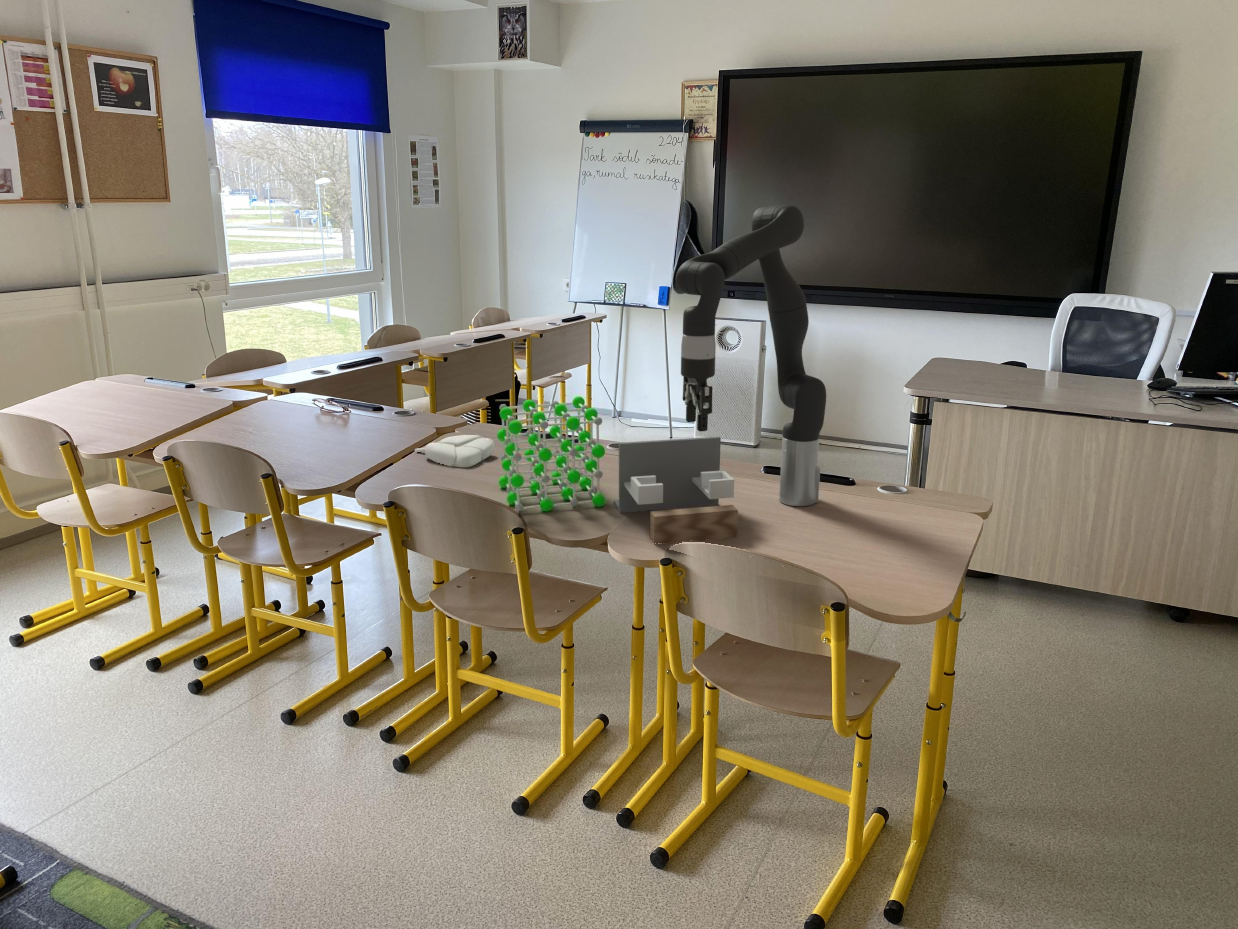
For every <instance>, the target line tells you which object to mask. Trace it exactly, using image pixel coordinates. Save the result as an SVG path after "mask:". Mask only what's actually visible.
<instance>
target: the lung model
mask: <svg viewBox="0 0 1238 929" xmlns="http://www.w3.org/2000/svg"><path fill="white" fill-rule="evenodd" d="M495 444H496V443H495V441H494V440H492V439H491V438H489V437H488V438H487V437H484V436H482V435H478V434H461V435H453V436H446V437H445V438H443V439H441V440H439V441H437V442H430V443H428V444H426V446H425V447H419V448H418V447H417V448H415V449H414V453H415V452H421V453H424V454H425V456H426V458H427V459H429V460H431V461H433V462H434V463H437V464H438V463H440V464H439V465H442V464H444V465H443V466H446V465H447V467H455V468H470V467H473V465H474V466H476V465H477V464H479V463H480V462H482V461H484V460H485V459H487V458H489V457H490V456H492V454H493V453H494V451H495Z"/></svg>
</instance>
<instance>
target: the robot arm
mask: <svg viewBox="0 0 1238 929" xmlns="http://www.w3.org/2000/svg"><path fill="white" fill-rule="evenodd" d="M751 218H752V219H751V231H750V232H747V233H744V234H742V235H738V236H735V237H733V238H731V239H730V240H729V239H728V241H726V242H724V243H723V244H721V245H720V246H718V247H717V248H715V249H714V250H712V251H710V252H706V253H703V254H701V255H700V254H699V255H698V256H695V257H692V258H690V259H688V260H686V261H685V262H683V263H682V264H681V265H680V267H679V268H678V270H677V271H676V273H675V274H676V275H675V284H676V287H677V288H678V290H679V291H680V292H681V293H684V294H686V295H692V296H699V300H698V303H697V305H693V306H689V307H685V309H684V311H683V312H682V313H683V314H682V315H683V316H682V338H681V346H680V375H681V377H683V379H682V380H683V381H682V383H683V384H682V397H681V398H682V401H683V402H684V405H685V421H686V422H687V423H695V422H696V430H697V431H698V432H707V431H708V426H709V425H708V424H709V423H708V422H709V420H708V419H709V415H710V414H713V386H712V385H710V386H709V385H708V381H707V380H708V379H711V378H713V377H714V376H716V375H715V374H716V353H717V352H716V350H717V349H716V348H717V347H716V345H717V344H716V315H717V312H718V309H719V305H720V301H721V298H722V296H723V291H724V287H725V281H726V280H728V279H730V278H732V277H734V276H735V275H736V274H738V273H739V272H741V271H743V269H746V268H747V267H748V266H750V265H751V264H753V263H754V262H756V261H758V263H759V266H760V270H761V275H762V278H763V285H764V290H765V296H766V302H767V310H768V316H769V322H770V327H771V332H772V338H773V339H772V340H773V344H774V345H773V347H774V351H775V360H776V370H777V371H776V372H777V390H778V395H779V399H780V401H781V402H782V404H783V405H784V406H786V407H787V408H789V409H792V410H793V415H792V421H791V422H788V423H786V424H784V425H783V427H782V438H781V439H782V440H781V442H782V443H781V455H780V457H781V458H780V460H781V461H780V475H779V476H780V478H779V479H780V480H779V493H778V494H779V495H778V496H779V497H778V500H779V501H780V503H782V504H784V505H788V506H791V507H793V506H794V507H806V506H812V505H813V504H818V503H819V494H820V478H821V477H820V476H821V467H819V466H818V464H819V463H818V462H819V461H818V459H819V442H820V433H821V430H822V429H823V426H824V424H825V423H824V422H825V412H826V406H827V389H826V386H825V384H824V382H823V381H822V380H821V379H819V378H818V377H814V376H812V375H809V374H807V373H806V370H805V366H804V359H803V346H804V343H805V340H806V336H807V333H808V328H809V320H810V319H809V312H808V306H807V299H806V296H805V293H804V291H803V289H802V288H801V286H800V285H799V283H798V282H797V281H796V279H795V278H794V277H793V275H792V274H791V273H790V272H789V270H788V269H787V267H786V265H785V263H784V261H783V258H782V254H781V251H780V249H782V248H785V247H788V246H790V245H793V244H795V243H796V242H798V241H799V240H800V238H801V237H802V235H803V232H804V229H805V220H804V219H805V218H804V215H803V213H802V211H801V209H799V207H797V206H795V205H793V204H792V205H791V204H782V205H781V204H779V205H768V206H762V207H759V208H757V209H755V211H754V212H753V215H752V217H751Z"/></svg>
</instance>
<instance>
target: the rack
mask: <svg viewBox="0 0 1238 929" xmlns="http://www.w3.org/2000/svg"><path fill="white" fill-rule="evenodd" d="M721 440H722V438H721V436H709V437H708V436H706V437H705V436H704V437H692V438H674V439H657V440H643V441H627V442H626V441H622V442H618V499H613V505H614V506H615V508H616V510H617V511H618V512H619V514H624V513H625V514H626V513H637V512H636V511H640V512H647V511H646V510H652V511H662V510H674V509H687V508H700V507H712V506H719V501H720V499H732V498H734V497H735V496H734V494H735V479H734V478H733V477H732V476H731V475H730V474H729V473H728V472H726V470H723V469H722V470H720V468H721V466H720V465H721V444H722V443H721V442H722V441H721Z"/></svg>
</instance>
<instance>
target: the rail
mask: <svg viewBox="0 0 1238 929" xmlns="http://www.w3.org/2000/svg"><path fill="white" fill-rule="evenodd" d="M649 512H650V515H649V517H650V519H649V526H650V527H649V531H650V532H649V539H650V541H651V540H652V541H651V542H652V544H653V543H654V544H655V543H656V544H655V545H659V544H658V543H662V544H661V545H664V544H663V543H666V544H677V543H676V542H678V543H683V542H682V541H690V540H701V541H711V540H722V539H735V538H737V537H738V518H739V510H738V508H737V507H735V505H733V504H727V505H716V506H704V507H691V508H678V509H665V510H652V511H649ZM706 539H707V540H706ZM708 539H709V540H708ZM690 542H691V541H690ZM654 544H653V545H654Z"/></svg>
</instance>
